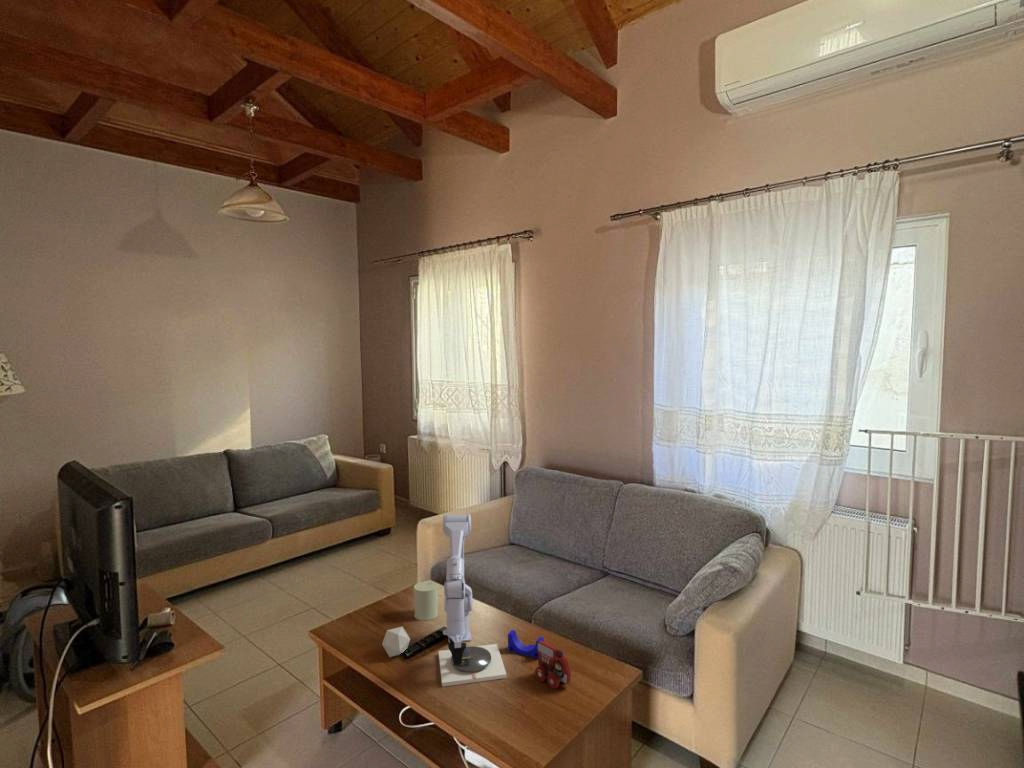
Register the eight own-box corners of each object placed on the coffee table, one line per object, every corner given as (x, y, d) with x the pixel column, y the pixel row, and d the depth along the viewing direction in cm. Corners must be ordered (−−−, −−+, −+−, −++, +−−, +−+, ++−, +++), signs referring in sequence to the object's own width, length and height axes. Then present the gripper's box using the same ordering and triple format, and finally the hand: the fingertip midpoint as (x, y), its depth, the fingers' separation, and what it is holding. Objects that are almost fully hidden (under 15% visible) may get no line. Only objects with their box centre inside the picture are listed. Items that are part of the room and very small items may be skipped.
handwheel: (487, 646, 180) (487, 635, 180) (494, 668, 167) (493, 656, 167) (449, 651, 177) (449, 639, 177) (452, 674, 165) (452, 661, 164)
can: (443, 612, 208) (442, 582, 208) (427, 622, 201) (426, 591, 200) (425, 607, 213) (424, 578, 213) (409, 616, 206) (408, 586, 205)
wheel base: (438, 654, 179) (438, 649, 179) (496, 647, 183) (496, 642, 183) (442, 687, 161) (442, 681, 161) (506, 678, 165) (506, 673, 165)
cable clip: (545, 652, 179) (545, 635, 179) (540, 659, 175) (540, 642, 175) (514, 644, 185) (513, 627, 185) (508, 651, 181) (507, 634, 181)
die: (407, 645, 186) (389, 623, 186) (419, 641, 181) (401, 618, 180) (390, 665, 180) (372, 641, 180) (403, 661, 174) (384, 637, 174)
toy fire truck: (561, 693, 157) (560, 659, 157) (531, 676, 166) (530, 644, 166) (576, 683, 162) (575, 650, 162) (546, 667, 171) (545, 635, 171)
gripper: (441, 607, 177) (442, 647, 178) (444, 629, 163) (445, 672, 163) (462, 605, 178) (463, 644, 179) (467, 626, 164) (468, 669, 165)
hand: (456, 657), depth 171 cm, fingers open, 7 cm apart
